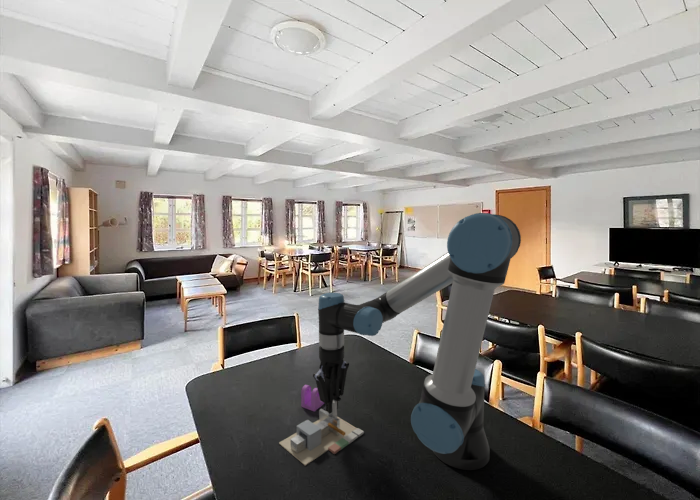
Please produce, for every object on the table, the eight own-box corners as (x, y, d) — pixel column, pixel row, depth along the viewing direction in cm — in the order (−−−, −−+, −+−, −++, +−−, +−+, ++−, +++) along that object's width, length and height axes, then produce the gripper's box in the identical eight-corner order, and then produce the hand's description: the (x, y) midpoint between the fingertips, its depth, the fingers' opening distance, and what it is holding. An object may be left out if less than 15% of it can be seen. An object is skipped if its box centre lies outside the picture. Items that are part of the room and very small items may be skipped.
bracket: (314, 412, 106) (314, 391, 105) (301, 407, 109) (301, 387, 108) (336, 394, 117) (335, 375, 116) (323, 390, 120) (323, 372, 119)
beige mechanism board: (363, 433, 95) (363, 417, 94) (311, 470, 80) (310, 452, 80) (330, 413, 105) (330, 399, 104) (278, 443, 90) (278, 427, 90)
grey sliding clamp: (349, 440, 91) (349, 425, 90) (312, 466, 81) (312, 449, 81) (321, 422, 99) (321, 408, 99) (285, 444, 89) (285, 428, 89)
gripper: (338, 336, 102) (339, 407, 104) (306, 348, 93) (307, 425, 95) (355, 342, 97) (355, 416, 99) (323, 355, 88) (324, 436, 89)
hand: (332, 420), depth 97 cm, fingers closed
